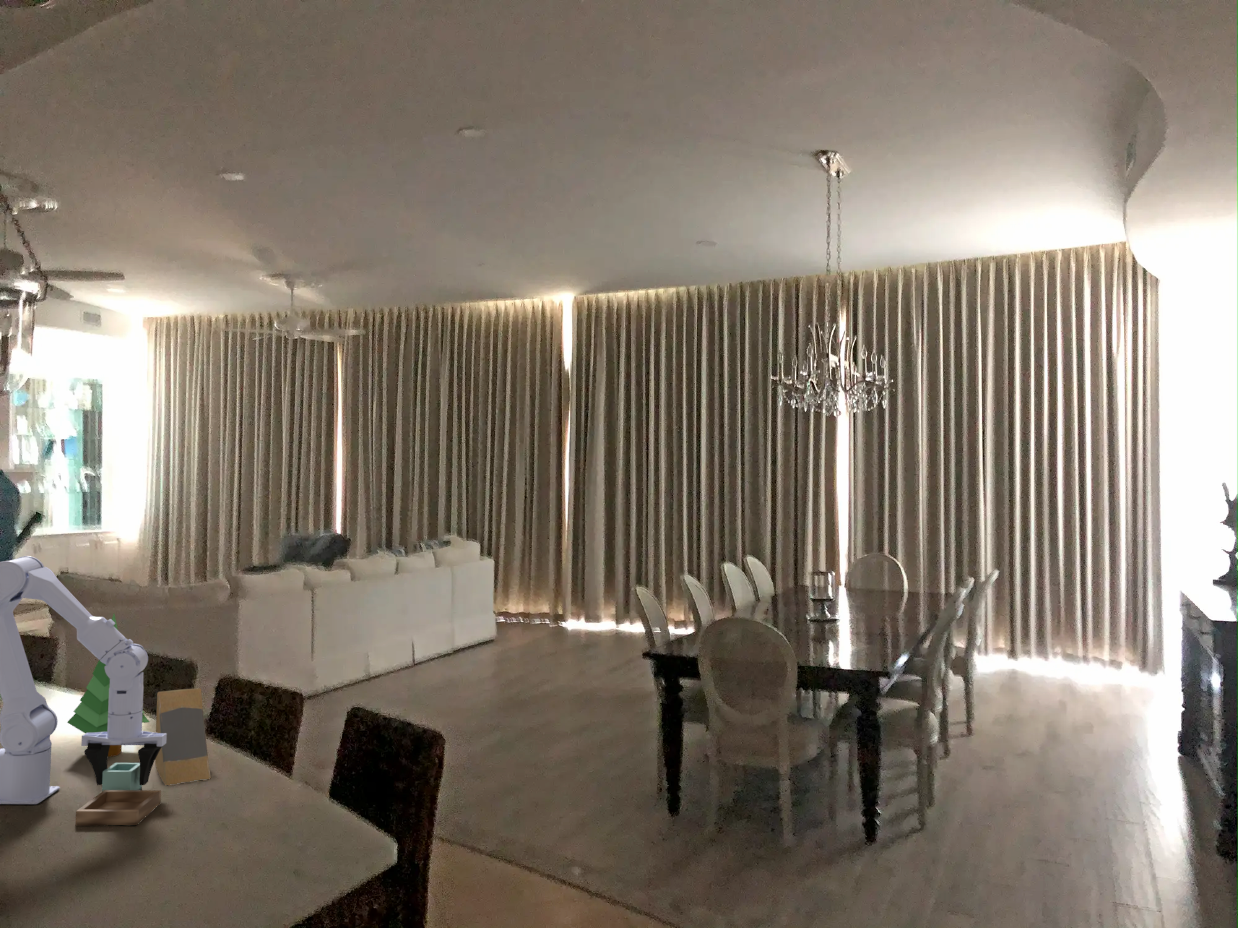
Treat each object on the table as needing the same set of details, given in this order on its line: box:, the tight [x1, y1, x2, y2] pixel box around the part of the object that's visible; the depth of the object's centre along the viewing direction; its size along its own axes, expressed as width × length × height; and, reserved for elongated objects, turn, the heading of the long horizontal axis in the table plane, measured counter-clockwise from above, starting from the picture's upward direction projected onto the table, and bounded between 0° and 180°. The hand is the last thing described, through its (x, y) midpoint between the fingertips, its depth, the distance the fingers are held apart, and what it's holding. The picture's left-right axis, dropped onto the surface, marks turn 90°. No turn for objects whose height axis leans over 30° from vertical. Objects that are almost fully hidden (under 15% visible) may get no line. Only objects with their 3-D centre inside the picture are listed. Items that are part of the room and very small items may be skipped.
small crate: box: [101, 762, 143, 792], centre depth 169 cm, size 5×5×5 cm
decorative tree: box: [66, 613, 150, 758], centre depth 191 cm, size 14×16×30 cm
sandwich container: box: [154, 687, 212, 786], centre depth 182 cm, size 9×15×15 cm, turn 34°
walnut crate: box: [75, 789, 162, 827], centre depth 159 cm, size 10×10×2 cm
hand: (122, 783), depth 169 cm, fingers open, 7 cm apart
